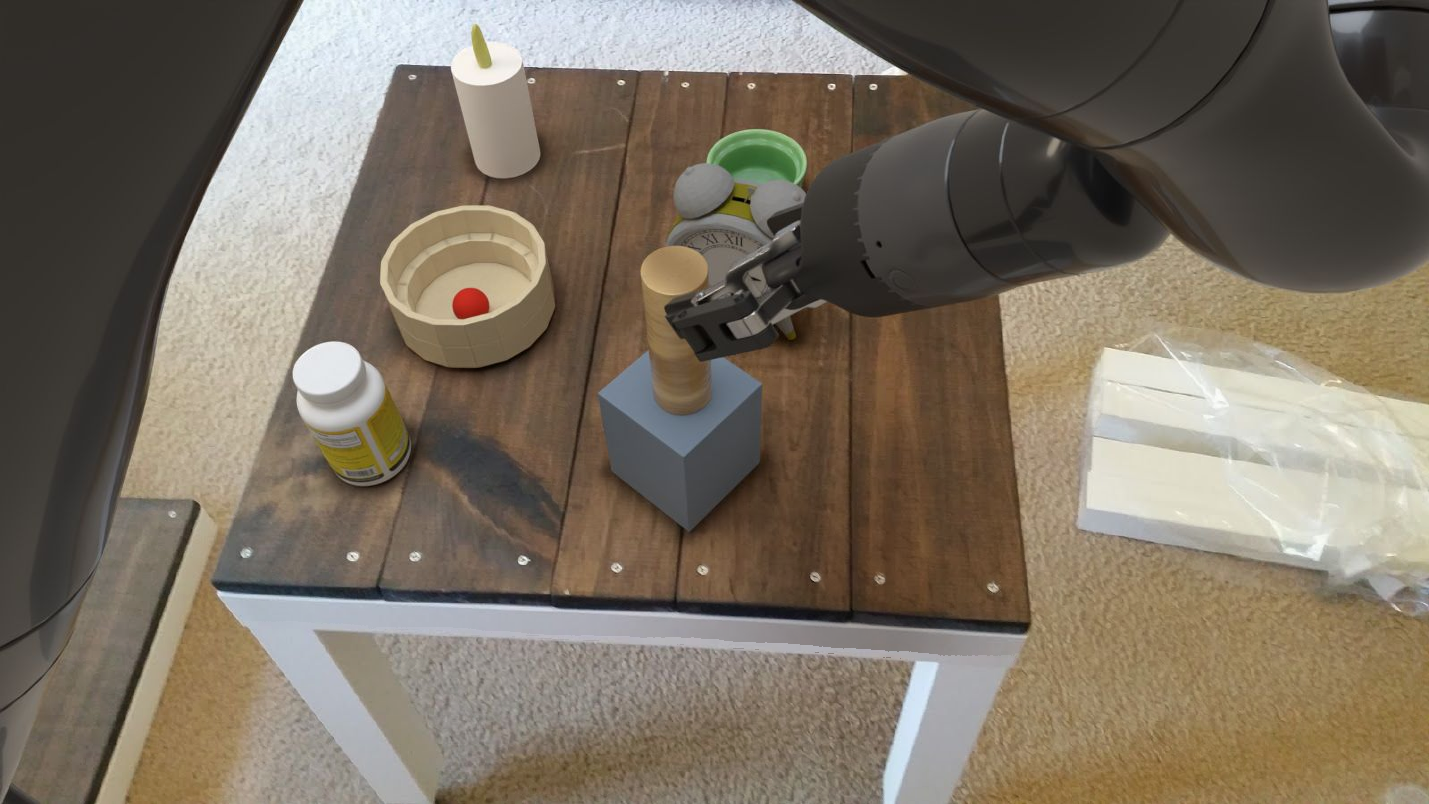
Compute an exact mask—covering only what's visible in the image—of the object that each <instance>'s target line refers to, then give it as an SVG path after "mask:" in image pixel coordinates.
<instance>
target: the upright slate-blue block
mask: <svg viewBox="0 0 1429 804" xmlns="http://www.w3.org/2000/svg"><path fill="white" fill-rule="evenodd" d="M711 370H712V395H711V398H710V400H709V402H708V403H707V405H706V406H705V407H703V408H702V409H701V410H699V411H697V412H695V413H692V414H688V415H676V414H672V413H669V412H667V411H665V410H663V409H662V408H661V407H660V406H659V405H658V404H657V402H656V401H655V398H654V394H653V385H652V376H651V366H650V357H649V349H647V350H646V351H645V352H644V353H643V354H642V355H640V356H639V357H638V358H637V359H636V360H634V361H633V362H632V363H631V364H630V365H629V366H628V367H626V368H625V369H624V370H623V371H622V372H620V374H618V375H617V376H616V377H615V378H614V379H612V380H611V381H610V382H609V383H608V384H606V386H604V387H603V388H602V389H600V391H598V392H597V397H598V404H599V409H600V414H601V420H602V425H603V431H604V436H605V442H606V448H607V453H608V459H609V465H610V470H611V473H613V474H614V475H616V476H617V477H618V478H619V479H620V480H622V481H623V482H625V483H626V484H627V486H629V487H631V488H632V489H633V490H635V491H636V492H637V493H638V494H640V495H641V496H642V497H643V498H645V499H646V501H648V502H649V503H651V504H652V505H654V506H655V507H656V508H657V509H658V510H660V511H661V512H662V513H663V514H665V515H666V516H668V517H669V518H670V519H671V520H673V521H674V522H675V523H677V524H678V525H679V526H681V528H683V529H684V530H685V531H687V532H688V533H690V532H691V531H692V530H693V529H694V528H695V527H697V526H698V524H700V522H702V520H704V519H705V518H706V516H707V515H708V514H710V513H711V512H712V510H713V509H715V507H717V506H718V504H719V503H721V502H722V501H723V500H724V498H726V497H727V496H728V495H729V494H730V493H731V492H732V491H733V490H734V489H735V488H736V487H737V486H738V485H739V484H740V483H741V482H742V481H743V480H744V479H745V478H746V477H747V476H748V475H749V474H750V473H751V472H752V471H753V470H755V468H756V467H757V466H758V465H759V464H760V462H761V438H762V437H761V434H762V433H761V432H762V408H763V407H762V404H763V383H762V382H760V381H759V380H758V379H756V378H755V377H753V376H752V375H750V374H749V373H747V372H746V371H745V370H743V369H741V368H740V367H739V366H737V365H735V364H734V363H733V362H732V361H730V360H729V359H727V358H726V357H722V358H717V359H712V360H711Z"/></svg>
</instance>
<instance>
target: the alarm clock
mask: <svg viewBox="0 0 1429 804" xmlns="http://www.w3.org/2000/svg"><path fill="white" fill-rule="evenodd" d="M806 194H807V192H806V191H804V189H803V188H802V189H801V188H800V187H799V186H797V185H796V184H794V183H792V182H789V181H786V180H772V181H770V182H767V183H765V184H761V183H757V182H754V181H749V180H742V179H733V178H732V176H731V175H730V173H729V172H728V171H726V170H725V169H724V168H722V167H720V166H718V165H716V164H710V163H707V162H703V163H697V164H696V163H695V164H694V165H692V166H688V167H687V168H686V169H684V171H683V172H682V173H681V174H680V176H679V177H678V178H677V180H676V182H675V185H674V188H673V196H672V197H673V198H672V199H673V204H674V207H675V209H676V211H677V213H678V215H677V217H676V219H675V220H674V223H673V224H672V227H671V228H670V230H669V232H668V234H667V237H666V240H665V244H664V247H668V246H684V247H688V248H691V249H693V250H695V251H697V252H698V253H700V254H701V255H702V256H703V257H704V259H705V260H706V262H707V265H708V274H709V287H711V286H713V285H715V284H717V283H718V282H720V281H722V280H724V279H725V276H726V274H727V272H728V270H729V268H730V267H731V265H732V264H733V263H734V262H735V261H737V260H739V259H741V258H743V257H744V256H746V255H748V254H750V253H751V252H753V251H755V250H757V249H758V248H760V247H762V246H764V245H765V244H767V243H769V242H771V241H772V240H773V238H774V235H773V234H772V232H771V230H770V229H769V227H768V225H767V220H768V219H769V218H770V217H771V216H772V215H773V214H775V213H776V212H778V211H781V210H784V209H787V208H789V207H792V206H795V205H798V204H801V203H804V199H805V196H806ZM749 275H750V277H751V278H752V280H753V281H754V283H755V284H756V286H757V287H758V289H759V291H760V292H761V294H763V293H765V292H766V291H768V290H769V289H770V288H769V287H768V285H767V282H766V280H765V277H764V274H763V272H762V265H760V266H758V267H756V268H754V269H753V270H751V271H749ZM732 295H734V294H733V293H728V294H726V295H725V296H723V297H721V298H719V299H722V298H725V297H729V296H732ZM774 325H776V327H778V329H779V330H780V331H781V332H782V334H783V335H784V336H785V337H786V338H787V340H789V341H792V340H794V339H795V338H797V335H796V330H795V328H794V325H793V321H792V318H791V315H790V316H789V317H787V318H785V319H783V320H781V321H779V322H777V323H775V324H774Z"/></svg>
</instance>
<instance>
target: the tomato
mask: <svg viewBox="0 0 1429 804" xmlns="http://www.w3.org/2000/svg"><path fill="white" fill-rule="evenodd" d="M452 308H453V312H454V314H455V316H456V317H457V318H458V319H467V318H471V317H475V316H479V315H483V314H487V313H488V312H489V300H488V298H487V296H486V295H485V294H484V293H483V292H482V291H481V290H479V289H476V288H465V289H462V290H460V291H459V292H458V293H457V294H456V295H455V297H454V299H453V303H452Z"/></svg>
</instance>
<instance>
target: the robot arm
mask: <svg viewBox="0 0 1429 804" xmlns="http://www.w3.org/2000/svg"><path fill="white" fill-rule="evenodd" d="M304 1H305V0H0V804H44V803H43V802H42V801H40V800H38V799H37V798H36V797H34V796H32V795H31V794H29V793H28V792H26V791H25V790H23V789H22V788H21V787H19V786H17V785H16V784H14V783H13V782H12V781H13V779H14V776H15V774H16V772H17V769H18V767H19V765H20V762H21V760H22V758H23V755H24V752H25V750H26V747H27V745H28V741H29V739H30V737H31V734H32V732H33V729H34V726H35V724H36V721H37V719H38V716H39V714H40V711H41V708H42V705H43V702H44V699H45V697H46V694H47V691H48V690H49V687H50V685H51V682H52V680H53V678H54V676H55V674H56V671H57V669H58V667H59V665H60V663H61V661H62V660H63V659H62V658H63V656H64V655H65V653H66V650H67V648H68V646H69V643H70V641H71V639H72V636H73V634H74V631H75V629H76V627H77V625H78V622H79V619H80V617H81V613H82V611H83V609H84V605H85V603H86V601H87V597H88V594H89V593H90V589H91V586H92V584H93V581H94V578H95V575H96V572H97V570H98V567H99V564H100V563H101V560H102V556H103V554H104V551H105V548H106V545H107V543H108V539H109V537H110V533H111V530H112V528H113V525H114V522H115V521H114V520H115V517H116V512H117V509H118V507H119V506H118V505H119V501H120V499H121V498H120V497H121V495H122V494H121V493H122V491H123V487H124V484H125V481H126V476H127V473H128V470H129V466H130V463H131V459H132V455H133V452H134V449H135V445H136V442H137V439H138V434H139V430H140V427H141V424H142V423H141V422H142V420H143V414H144V411H145V408H146V404H147V400H148V396H149V390H150V383H151V378H152V374H153V367H154V363H155V355H156V349H157V344H158V337H159V331H160V330H159V329H160V326H161V325H160V324H161V319H162V315H163V311H164V306H165V303H166V298H167V294H168V290H169V287H170V282H171V279H172V277H173V273H174V271H175V268H176V265H177V262H178V260H179V257H180V254H181V251H182V249H183V246H184V243H185V240H186V237H187V236H188V233H189V231H190V228H191V227H192V224H193V223H194V220H195V218H196V215H197V213H198V211H199V210H200V207H201V204H202V203H203V200H204V198H205V195H206V194H207V191H208V189H209V187H210V184H211V183H212V181H213V179H214V176H215V175H216V172H217V170H218V168H219V167H220V165H221V164H222V161H223V159H224V157H225V155H226V153H227V151H228V150H229V148H230V145H231V143H232V141H233V139H234V137H235V136H236V133H237V131H238V130H239V128H240V125H241V124H242V122H243V120H244V119H245V116H246V113H247V112H248V110H249V108H250V106H251V105H252V103H253V100H254V99H255V96H256V94H257V92H258V90H259V88H260V86H261V85H262V82H263V80H264V78H265V77H266V75H267V72H268V70H269V68H270V66H271V64H272V63H273V61H274V59H275V56H276V55H277V52H278V51H279V50H280V47H281V45H282V43H283V41H284V40H285V38H286V36H287V34H288V31H289V30H290V28H291V26H292V24H293V22H294V20H295V18H296V16H297V15H298V13H299V11H300V9H301V7H302V5H303V3H304ZM791 1H792V2H794V3H795V4H797V5H798V6H799V7H801V8H803V9H804V10H805V11H807V12H808V13H809V14H811V15H813V16H814V17H816V18H817V19H818V20H820V21H822V22H823V23H824V24H825V25H828V26H830V27H831V28H832V29H834V30H835V31H837V32H838V33H840V34H841V35H843V36H844V37H846V38H848V39H849V40H851V41H853V42H854V43H856V44H857V45H859V46H860V47H862V48H864V49H865V50H866V51H868V52H870V53H872V54H873V55H874V56H877V57H878V58H880V59H881V60H884V61H885V62H887V63H889V64H890V65H892V66H893V67H896V68H897V69H899V70H901V71H902V72H904V73H907V74H908V75H910V76H911V77H914V78H916V79H918V80H919V81H922V82H923V83H925V84H926V85H927V84H928V85H929V86H931V87H933V88H936V89H937V90H940V91H942V92H944V93H947V94H949V95H950V96H953V97H955V98H957V99H960V100H962V101H964V102H966V103H969V104H971V105H973V106H974V107H978V108H979V109H975V110H970V111H969V110H968V111H963V112H959V113H953V114H949V115H947V116H943V117H940V118H937V119H934V120H931V121H929V122H927V123H924V124H921V125H918V126H916V127H913V128H912V129H909V130H907V131H904V132H901V133H899V134H896V135H893V136H891V137H888V138H886V139H883V140H881V141H878V142H876V143H873V144H871V145H868V146H865V147H863V148H861V149H857V150H856V151H853V152H850V153H848V154H846V155H842V156H841V157H838V158H836V159H834V160H833V161H831V162H830V163H828V164H827V165H825V166H824V167H823V168H822V169H821V170H820V171H819V172H818V174H816V176H815V177H814V179H813V181H812V182H811V184H810V185H809V187H808V189H807V192H806V196H805V199H804V203H801V204H798V205H795V206H792V207H789V208H787V209H784V210H781V211H778V212H776V213H775V214H773V215H772V216H771V217H770V218H769V219H768V220H767V225H768V227H769V229H770V230H771V232H772V234H773V235H774V238H773V240H772V241H771V242H769V243H767V244H765V245H764V246H762V247H760V248H758V249H757V250H755V251H753V252H751V253H750V254H748V255H746V256H744V257H743V258H741V259H739V260H737V261H735V262H734V263H733V264H732V265H731V267H730V268H729V270H728V272H727V274H726V276H725V279H724V280H722V281H720V282H718V283H717V284H715V285H713V286H711V287H709V288H708V289H706V290H701V291H698V292H695V293H691V294H687V295H683V296H680V297H676V298H674V299H672V300H671V301H670V302H669V303H668V304H666V305H665V306H664V310H665V312H666V314H667V315H666V316H665V318H666V319H667V321H668V322H669V324H670V325H671V327H672V328H673V330H674V331H675V332H676V334H677V335H678V337H679V338H680V339H686V341H687V342H688V344H689V345H690V347H691V348H692V350H693V351H694V354H695V356H696V357H697V358H698V360H699V361H700V362H703V361H708V360H712V359H717V358H722V357H724V358H727V357H731V356H735V355H741V354H746V353H749V352H754V351H759V350H763V349H766V348H769V347H771V346H772V345H773V344H774V343H775V341H777V339H778V338H779V336H780V334H779V333H778V331H777V330H776V328H775V326H774V325H776V324H775V323H777V322H779V321H781V320H783V319H785V318H787V317H789V316H790V317H791V316H792V315H794V314H796V313H798V312H800V311H802V310H803V309H806V308H810V309H815V308H818V307H820V306H822V305H824V304H826V303H830V304H832V305H834V306H836V307H838V308H840V309H842V310H844V311H846V312H848V313H851V314H853V315H857V316H860V317H864V318H882V317H889V316H895V315H901V314H906V313H911V312H917V311H918V312H919V311H923V310H929V309H934V308H939V307H944V306H945V307H946V306H952V305H955V304H962V303H966V302H967V303H968V302H973V301H978V300H984V299H987V298H992V297H995V296H997V295H1000V294H1003V293H1006V292H1009V291H1011V290H1012V291H1013V290H1015V289H1017V288H1020V287H1023V286H1027V285H1031V284H1038V283H1041V282H1042V283H1043V282H1047V281H1053V280H1059V279H1064V278H1070V277H1075V276H1080V275H1086V274H1093V273H1097V272H1103V271H1108V270H1113V269H1118V268H1121V267H1124V266H1128V265H1131V264H1134V263H1137V262H1140V261H1142V260H1143V259H1145V258H1146V257H1148V256H1149V255H1151V254H1153V253H1154V252H1156V251H1158V249H1159V248H1160V247H1161V246H1162V245H1163V243H1165V241H1166V240H1167V239H1168V238H1169V237H1170V235H1172V236H1173V237H1174V238H1175V239H1176V240H1177V241H1178V242H1180V243H1181V244H1182V245H1183V246H1184V247H1186V248H1187V249H1188V250H1190V251H1191V252H1192V253H1193V254H1195V255H1196V256H1197V257H1199V258H1200V259H1202V260H1204V261H1205V262H1207V263H1209V264H1211V265H1212V266H1214V267H1216V268H1218V269H1220V270H1222V271H1224V272H1226V273H1228V274H1230V275H1232V276H1234V277H1237V278H1238V279H1242V280H1245V281H1247V282H1250V283H1252V284H1256V285H1259V286H1262V287H1266V288H1270V289H1273V290H1274V289H1275V290H1279V291H1284V292H1289V293H1297V294H1304V295H1305V294H1308V295H1339V294H1349V293H1355V292H1361V291H1366V290H1369V289H1374V288H1378V287H1382V286H1385V285H1388V284H1390V283H1392V282H1395V281H1397V280H1400V279H1403V278H1404V277H1406V276H1408V275H1410V274H1412V273H1414V272H1415V271H1417V270H1419V269H1420V268H1422V267H1423V266H1424V265H1426V264H1427V263H1429V0H791ZM760 265H762V272H763V274H764V277H765V280H766V282H767V285H768V287H769V288H770V289H769V290H768V291H766V292H765V293H763V294H761V292H760V291H759V289H758V287H757V286H756V284H755V283H754V281H753V280H752V278H751V277H750V275H749V271H751V270H753V269H754V268H756V267H758V266H760ZM728 293H733V294H734V295H732V296H729V297H725V298H722V299H719V298H721V297H723V296H725V295H726V294H728Z"/></svg>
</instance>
